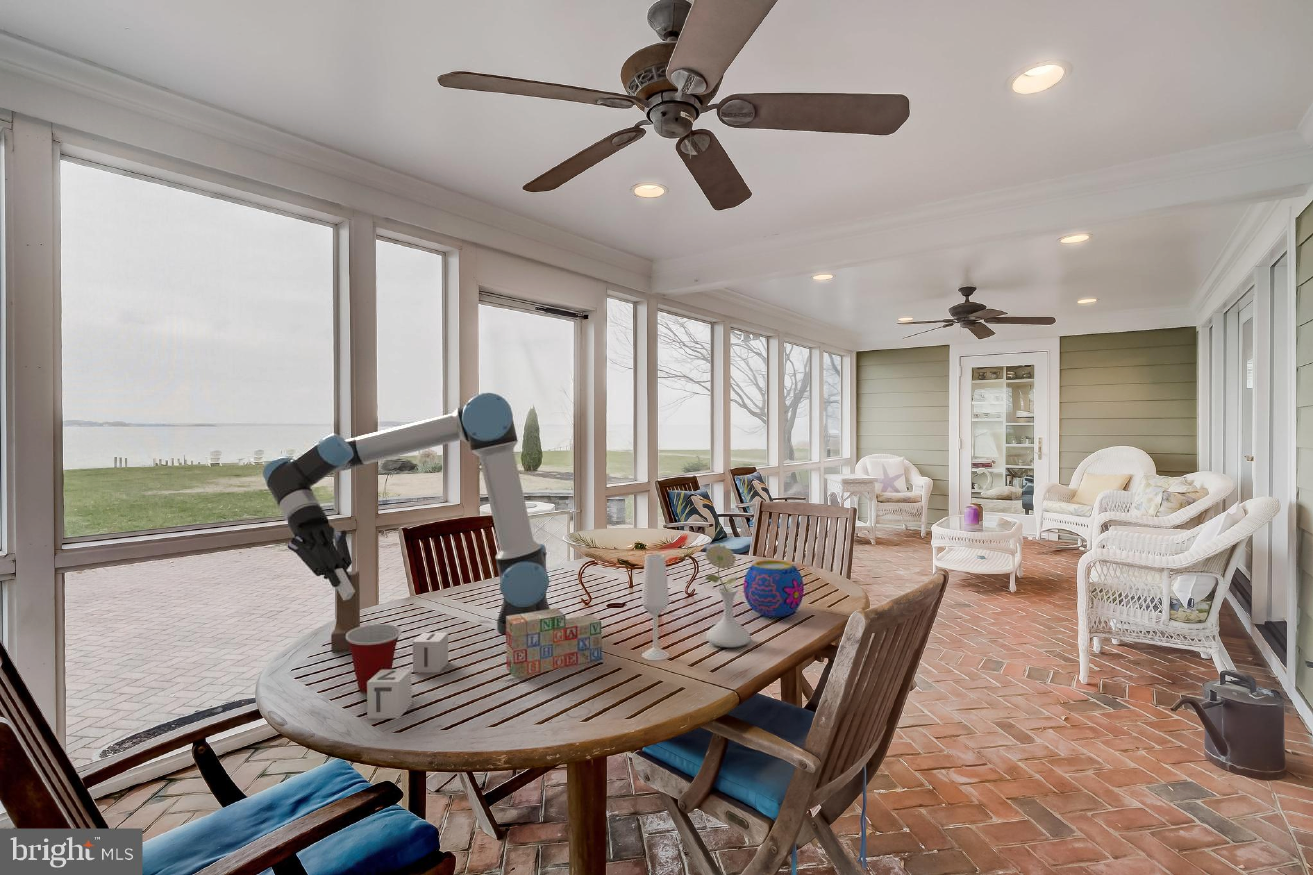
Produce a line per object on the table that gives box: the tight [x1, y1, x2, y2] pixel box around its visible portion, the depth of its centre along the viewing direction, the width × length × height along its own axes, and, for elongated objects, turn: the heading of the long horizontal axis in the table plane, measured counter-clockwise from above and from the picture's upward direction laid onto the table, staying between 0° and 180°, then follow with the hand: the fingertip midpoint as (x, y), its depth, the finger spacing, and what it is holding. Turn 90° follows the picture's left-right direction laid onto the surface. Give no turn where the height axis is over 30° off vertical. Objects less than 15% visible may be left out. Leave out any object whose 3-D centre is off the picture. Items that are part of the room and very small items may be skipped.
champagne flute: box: [641, 553, 670, 661], centre depth 147 cm, size 7×7×24 cm
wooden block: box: [330, 570, 361, 652], centre depth 155 cm, size 9×4×18 cm, turn 12°
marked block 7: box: [366, 668, 413, 719], centre depth 118 cm, size 6×6×7 cm
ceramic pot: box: [742, 559, 805, 618], centre depth 178 cm, size 18×18×15 cm
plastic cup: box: [346, 623, 402, 693], centre depth 129 cm, size 11×11×12 cm
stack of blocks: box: [505, 607, 603, 678], centre depth 142 cm, size 21×6×12 cm, turn 119°
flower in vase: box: [704, 543, 752, 648], centre depth 155 cm, size 13×11×25 cm
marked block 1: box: [412, 632, 449, 673], centre depth 140 cm, size 6×6×7 cm
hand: (349, 595), depth 132 cm, fingers closed
